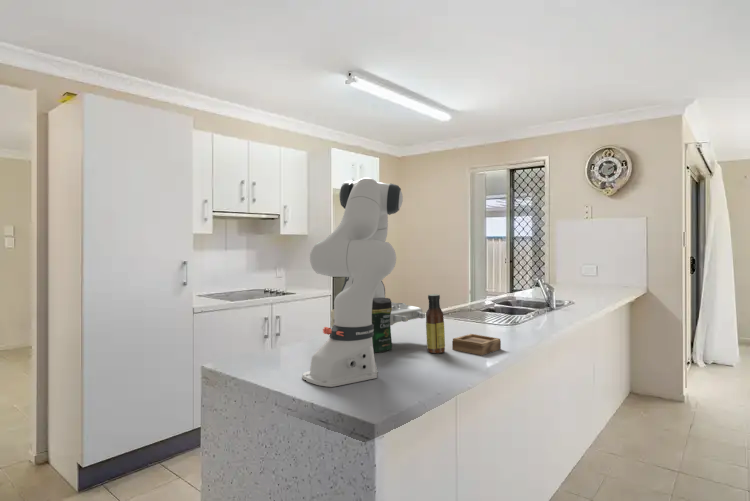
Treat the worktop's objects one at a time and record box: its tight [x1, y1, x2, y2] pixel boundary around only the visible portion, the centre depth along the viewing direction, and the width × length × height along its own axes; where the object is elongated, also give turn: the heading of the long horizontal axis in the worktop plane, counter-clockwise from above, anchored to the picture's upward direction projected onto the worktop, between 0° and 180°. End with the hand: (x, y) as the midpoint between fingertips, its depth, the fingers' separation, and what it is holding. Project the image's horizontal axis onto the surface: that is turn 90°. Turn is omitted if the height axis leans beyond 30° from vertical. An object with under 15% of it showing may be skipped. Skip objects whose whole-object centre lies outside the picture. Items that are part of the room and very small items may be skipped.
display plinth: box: [452, 333, 502, 356], centre depth 162 cm, size 12×12×4 cm
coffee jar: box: [372, 297, 393, 353], centre depth 162 cm, size 10×8×19 cm
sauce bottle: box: [425, 293, 446, 354], centre depth 159 cm, size 6×6×20 cm
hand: (415, 317), depth 165 cm, fingers open, 8 cm apart
